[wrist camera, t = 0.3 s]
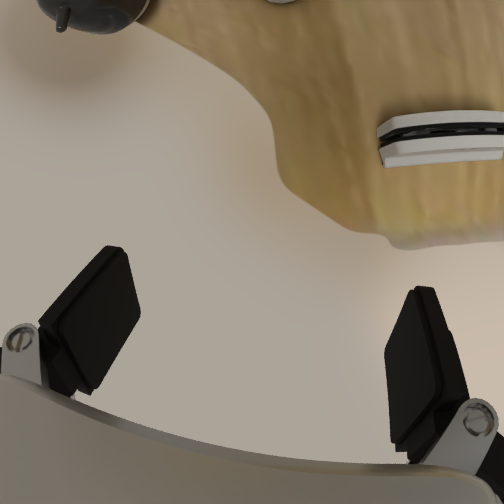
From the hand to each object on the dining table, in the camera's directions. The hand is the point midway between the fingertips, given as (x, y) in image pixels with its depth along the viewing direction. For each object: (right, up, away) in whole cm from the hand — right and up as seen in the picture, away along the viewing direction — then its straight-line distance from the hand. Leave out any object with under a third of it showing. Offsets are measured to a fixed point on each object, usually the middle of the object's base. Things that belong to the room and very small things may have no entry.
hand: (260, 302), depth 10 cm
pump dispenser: (-16, +33, +18) cm, 41 cm away
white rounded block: (+22, +16, +21) cm, 34 cm away
